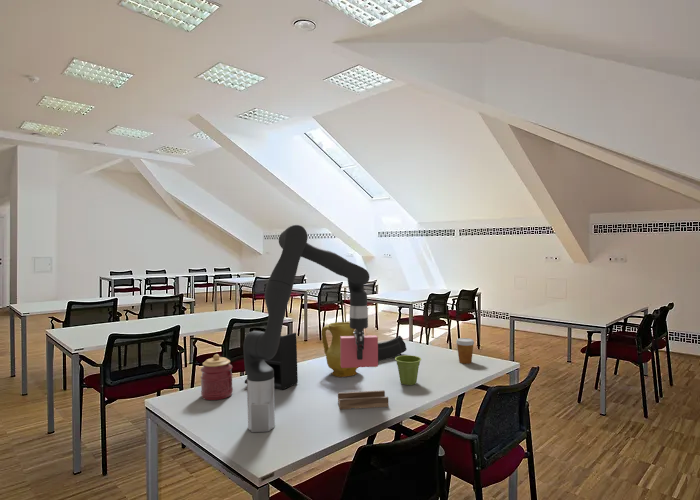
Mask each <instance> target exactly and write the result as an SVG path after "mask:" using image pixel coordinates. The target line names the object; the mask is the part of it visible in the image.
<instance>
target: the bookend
mask: <svg viewBox="0 0 700 500" xmlns="http://www.w3.org/2000/svg"><path fill="white" fill-rule="evenodd" d="M297 349H298V347H297V332H293V333H289V334H286V335H285V334H284V335H281V337H280V342H279V347H278V350H277V352H276V354H275V356H274V357H273V358H272V359H270V360H265V359H264V361H265V362H266V363H267V364H268V365H269V366H270V367H272V368H273V370H274V389H276V390H278V389H279V390H285V389H287V388H290V387H292V386H294V385H296V384H298V383H299V380H298V379H299V376H298V351H297ZM244 383H246V384H247V378H246V379H245V380H244Z"/></svg>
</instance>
